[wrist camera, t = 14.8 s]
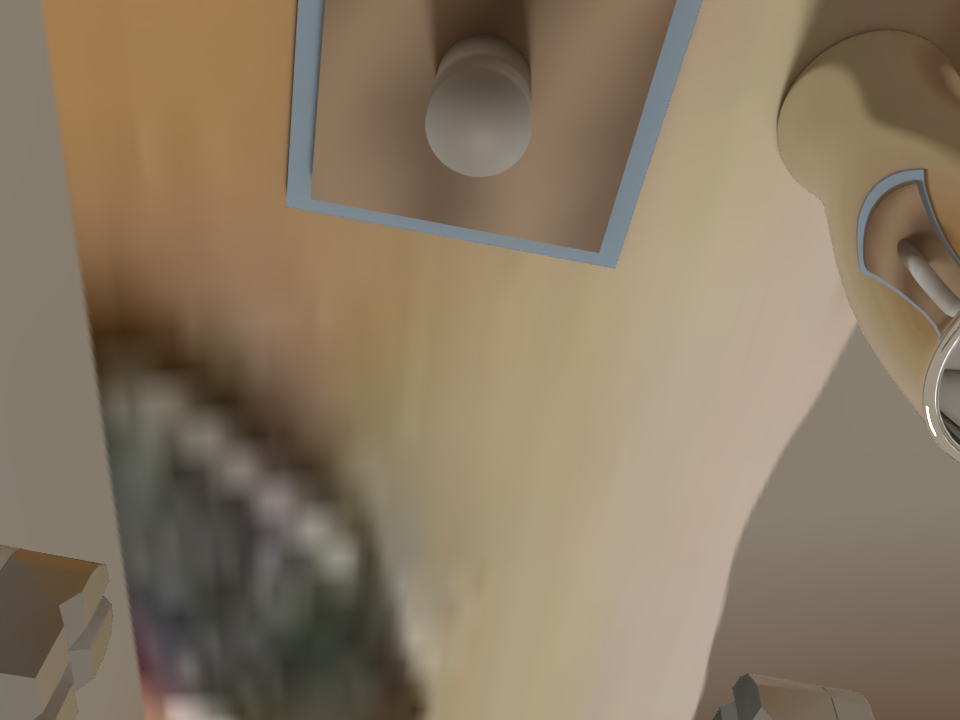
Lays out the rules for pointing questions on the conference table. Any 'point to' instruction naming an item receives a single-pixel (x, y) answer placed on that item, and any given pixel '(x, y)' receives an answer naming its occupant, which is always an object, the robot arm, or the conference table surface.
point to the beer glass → (889, 203)
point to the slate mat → (627, 196)
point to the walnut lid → (485, 110)
